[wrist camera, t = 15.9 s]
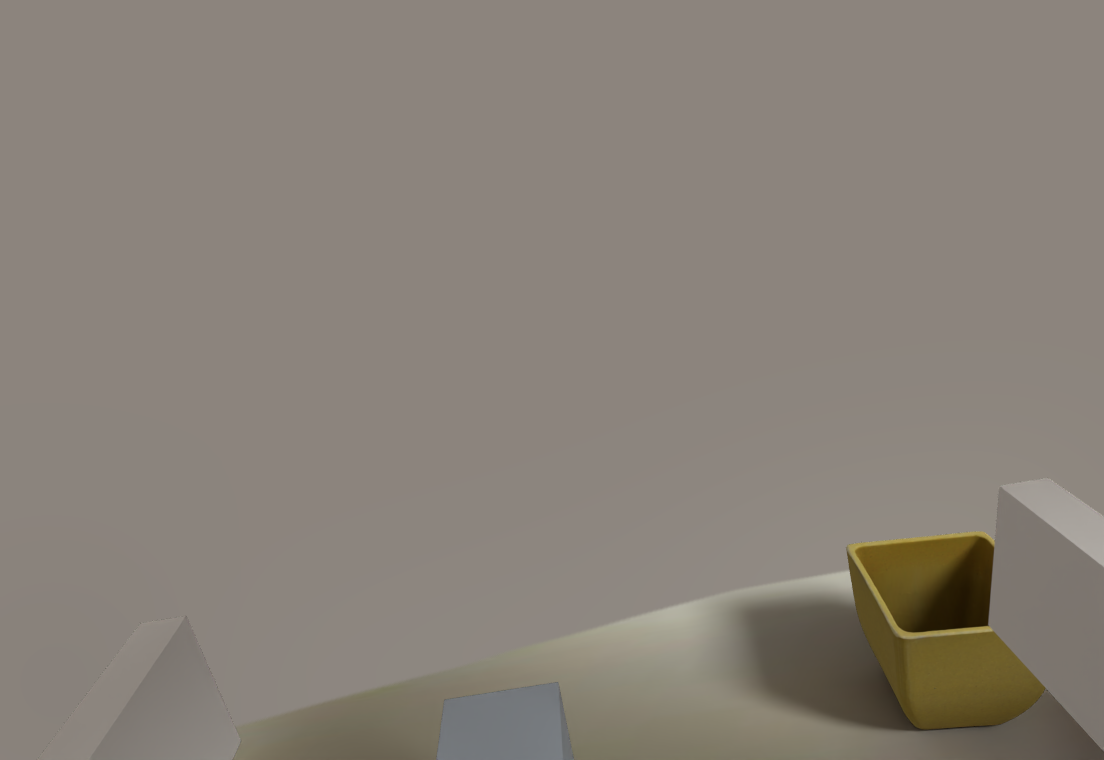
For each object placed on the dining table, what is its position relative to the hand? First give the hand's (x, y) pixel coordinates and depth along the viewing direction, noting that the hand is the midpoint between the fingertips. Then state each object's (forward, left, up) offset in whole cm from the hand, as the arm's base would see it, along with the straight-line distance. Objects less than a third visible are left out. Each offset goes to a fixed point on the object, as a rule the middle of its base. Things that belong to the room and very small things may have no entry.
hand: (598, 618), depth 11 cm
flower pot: (-20, -24, -30) cm, 43 cm away
